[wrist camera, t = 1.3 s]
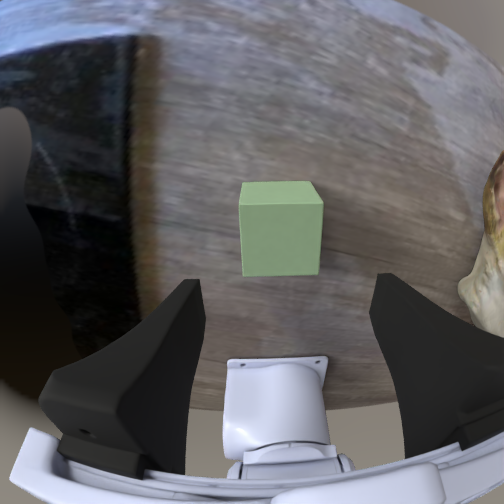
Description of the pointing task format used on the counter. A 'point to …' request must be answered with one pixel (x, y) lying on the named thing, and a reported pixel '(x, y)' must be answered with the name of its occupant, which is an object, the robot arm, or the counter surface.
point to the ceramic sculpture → (489, 260)
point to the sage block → (280, 228)
